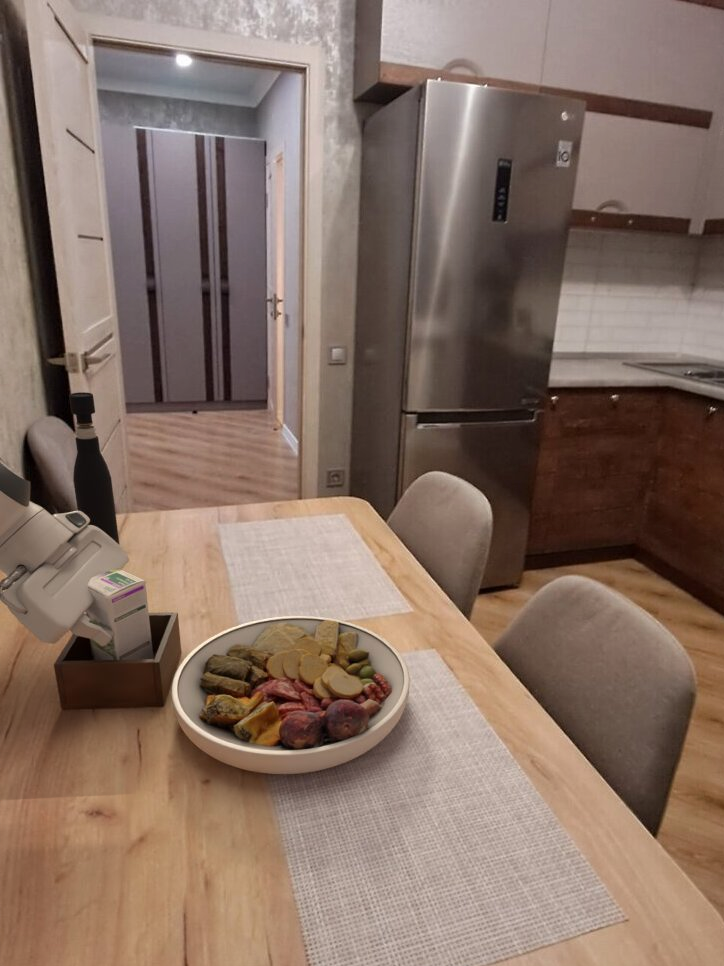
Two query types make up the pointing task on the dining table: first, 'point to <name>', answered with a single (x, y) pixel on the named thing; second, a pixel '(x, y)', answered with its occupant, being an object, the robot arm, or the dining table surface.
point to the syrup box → (120, 616)
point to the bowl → (290, 694)
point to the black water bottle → (92, 470)
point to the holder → (120, 671)
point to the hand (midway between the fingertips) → (123, 621)
